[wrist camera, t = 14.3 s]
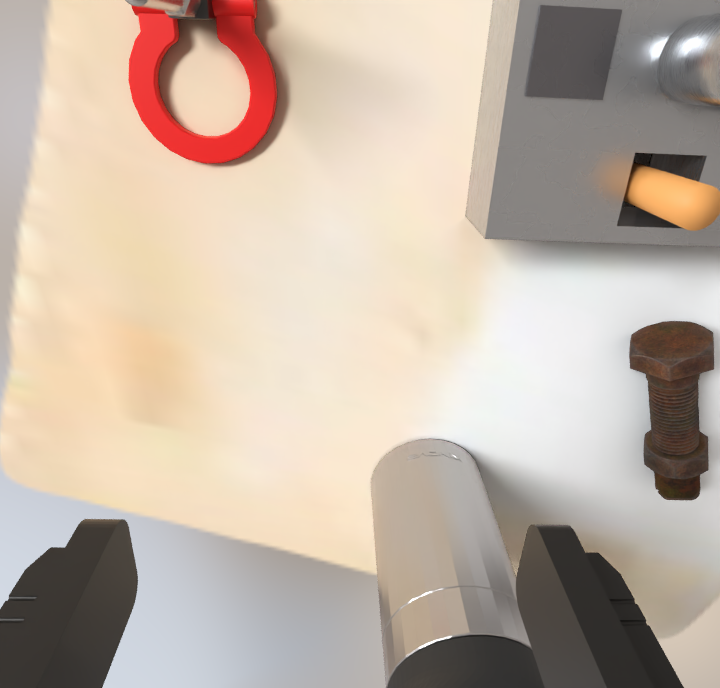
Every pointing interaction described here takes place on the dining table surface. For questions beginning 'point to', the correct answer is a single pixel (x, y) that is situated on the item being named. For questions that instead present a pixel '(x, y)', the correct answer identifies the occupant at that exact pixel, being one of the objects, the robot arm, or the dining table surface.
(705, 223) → the rounded pin
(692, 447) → the bolt
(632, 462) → the dining table surface
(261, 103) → the tow hook
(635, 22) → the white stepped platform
